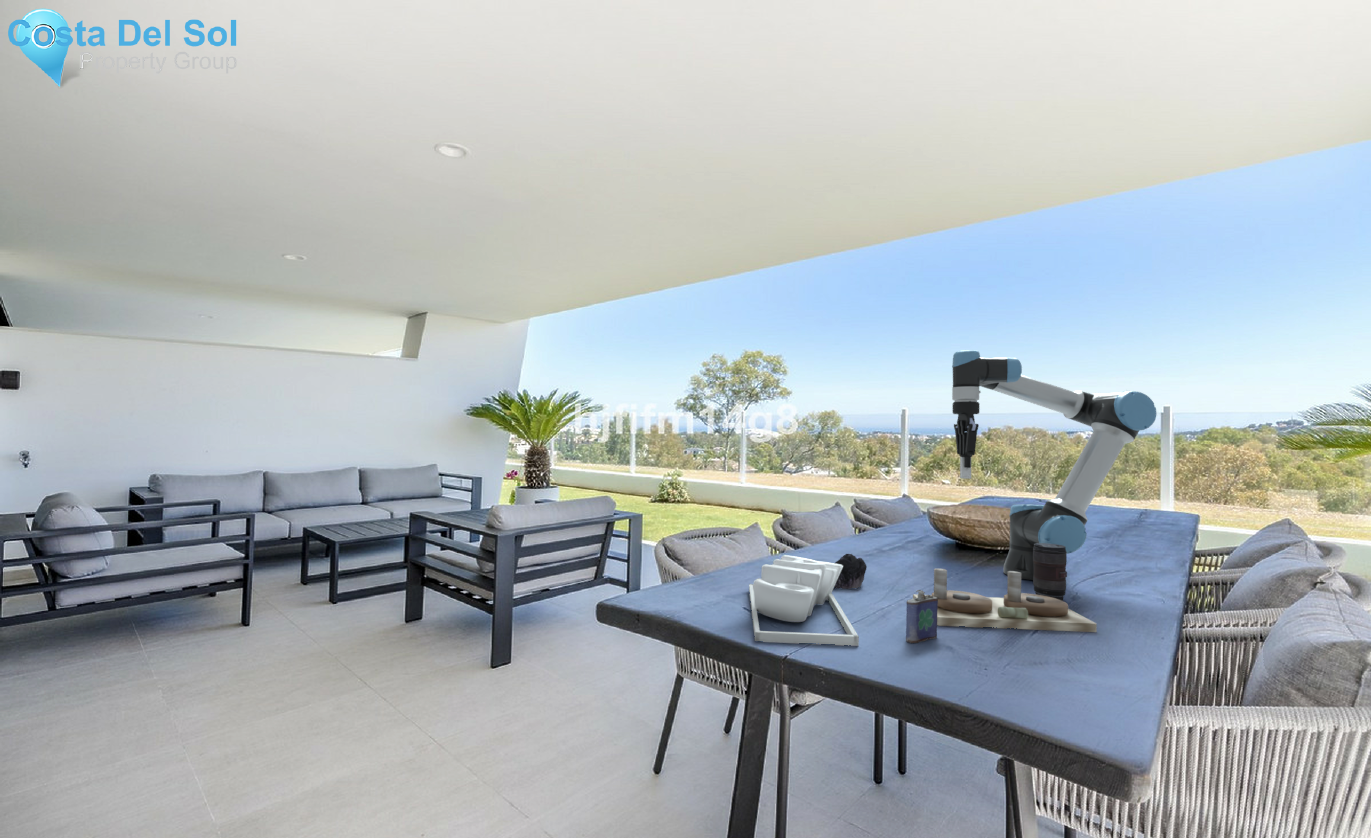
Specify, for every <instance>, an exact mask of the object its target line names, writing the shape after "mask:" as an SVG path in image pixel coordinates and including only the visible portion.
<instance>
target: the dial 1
mask: <svg viewBox="0 0 1371 838" xmlns="http://www.w3.org/2000/svg"><path fill="white" fill-rule="evenodd" d="M947 589H948V570H947V569H945V568H934V569H933V592H932V593H931V595H932V596H934V597H937V598H938V607H940V608H943V609H947V610H951V611H956V612H963V613H987V612H990V611H991V610H992V600H991V599H989V598H987V597H988V596H984V595H981V594H979V593H974V592H969V591H962V590H952V589H951V590H949V589H948V590H947Z"/></svg>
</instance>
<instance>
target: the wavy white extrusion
mask: <svg viewBox="0 0 1371 838" xmlns="http://www.w3.org/2000/svg"><path fill="white" fill-rule="evenodd" d="M842 568H843V566H842V565H841V564H835V562H834V563H833V562H828V561H821V560H816V559H815V560H814V559H810V558H806V557H802V556H801V557H800V556H796V555H795V556H794V555H788V554H784V555H781V557H780V559H779V558H775V559H774V560H773V561H772V564H766V563H765V564H763V565H762V566H761V575H760V576H761V577H759V578H756V579H755V580H753V584H754V600H755V608H756V610H757V613H759V614H761V615H763V616H766V617H768V618H772V619H775V620H779V621H783V622H791V623H801V622H805V621H806V620H807V618H808V617H811V616H812V613H813V609H814V607H815V606H816V605H820V606H822V605H824V604H825V602H826V601H828V599H829V595H830V594H831V593H832V594H833V590H834V589H835V588H834V586H835V584H836V581H837V579H838V577H839V575H840V572H841V570H842Z"/></svg>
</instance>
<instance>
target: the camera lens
mask: <svg viewBox="0 0 1371 838" xmlns="http://www.w3.org/2000/svg"><path fill="white" fill-rule="evenodd" d="M1066 553H1067V552H1066V548H1065V546H1063V545H1058V544H1049V543H1036V544H1034V548H1033V563H1034V577H1033V580H1032V581H1033V583H1032V584H1033V591H1034V592H1035V593H1034V594H1037V595H1043V596H1048V597H1052V598H1056V599H1059V600H1062V601H1064V596H1066V591H1067V590H1066V589H1067V579H1066V578H1067V577H1068V572H1067V569H1066V567H1067V563H1068V562H1067V561H1068V559H1067V558H1068V556H1067V555H1068V554H1066Z"/></svg>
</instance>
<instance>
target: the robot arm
mask: <svg viewBox="0 0 1371 838" xmlns="http://www.w3.org/2000/svg"><path fill="white" fill-rule="evenodd" d="M951 367H952V387H951V388H952V389H951V391H952V392H951V393H952V394H951V397H952V401H953V403H952V414H953V415H957V421H956V423H953V428H954V433H955V434H954V435H955V444H956V453H957V455H958V456H959V459H960V461H959V464H960V465H959V472H960V475H959V478H960V479H964V480H965V479H969V480H970V479H972V458H973V456H975V454H976V446H977V445H976V444H977V437H978V429H979V428H980V427H979V423H976V421H975V415H979V414H980V402H979V401H980V394H981V393H982V392H981V390H980V387H982V388H985V389H988V390H991V391H995V392H998V393H1001V394H1003V395H1007V396H1010V397H1013V398H1016V399H1018V400H1022V401H1024V402H1028V403H1030V404H1034V405H1037V406H1040V407H1042V408H1046V409H1049V410H1051V411H1054V412H1058V413H1060V414H1063V416H1064V418H1066V419H1068V420H1072V421H1075V422H1077V423H1080V424H1083V425H1086V426H1088V427H1091V429H1092V430H1093V431H1092V434H1091V435H1090V437H1089V439H1088V440H1087V442H1086V444H1085V446H1084V447H1083V449H1082V451H1081V453H1080V454H1079V456H1078V458H1077V460H1076V462H1075V463H1074V465H1073V467H1072V468H1071V470H1070V471H1069V474H1068V475H1067V477H1066V479H1065V481H1064V482H1063V484H1062V485H1061V487H1060V489H1059V491H1058V493H1057V495H1056V496H1055V498H1052V499H1048V500H1046V502H1045V504H1012V505H1011V507H1010V512H1009V551H1008V554H1007V556H1006V558H1005V561H1004V564H1003V573H1004V574H1005V575H1007V576H1008V571H1015V572H1020V573H1021V580H1027V581H1028V580H1030V581H1033V577H1034V563H1033V548H1034V544H1036V543H1049V544H1058V545H1063V546H1065V548H1066V552H1067V553H1066V554H1067V555H1068V554H1073V553H1075V552H1077V551H1078V550H1079V549H1080V548H1082V547H1083V546H1084V544H1085V542H1086V539H1087V531H1086V530H1087V529H1086V526H1085V525H1086V524H1087V522H1088V520H1089V519H1088V517H1087V514H1086V512H1087V510H1088V508H1089V506H1090V505H1091V503H1092V501H1093V500H1094V498H1095V496H1096V495H1097V493H1098V491H1099V489H1100V488H1101V486H1102V484H1103V482H1104V480H1105V479H1106V477H1107V476H1108V475H1109V474H1108V473H1109V472H1110V471H1111V468H1112V467H1113V466H1114V463H1115V462H1116V460H1117V458H1118V457H1119V455H1120V453H1121V452H1122V449H1124V446H1125V445H1126V444H1129V443H1133V442H1134V441H1135V439H1136V438H1137V436H1138V434H1139V432H1140V431H1145V430H1147V429H1149V428H1150V427H1151V426H1152V425H1153V424H1154V423H1155V421H1156V418H1157V408H1156V405H1155V403H1154V401H1153V399H1152V398H1151V397H1150V396H1148V395H1147V394H1145V393H1144V392H1140V391H1134V390H1133V391H1130V390H1124V391H1120V392H1119V391H1118V392H1110V393H1109V392H1108V393H1107V392H1106V393H1092V392H1087V391H1086V392H1085V391H1082V390H1079V389H1078V390H1074V391H1073V390H1069V389H1066V388H1062V387H1061V386H1060V387H1059V386H1056V385H1054V384H1051V383H1049V382H1044V381H1041V380H1038V379H1035V378H1032V377H1029V376H1026V375H1022V370H1023V369H1022V368H1023V367H1022V362H1021V361H1020V359H1018V358H1016V357H982V356H981V354H980V352H979V351H978V350H973V349H972V350H971V349H968V350H966V349H965V350H958V351H956V352H954V353H953V356H952V366H951Z"/></svg>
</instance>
